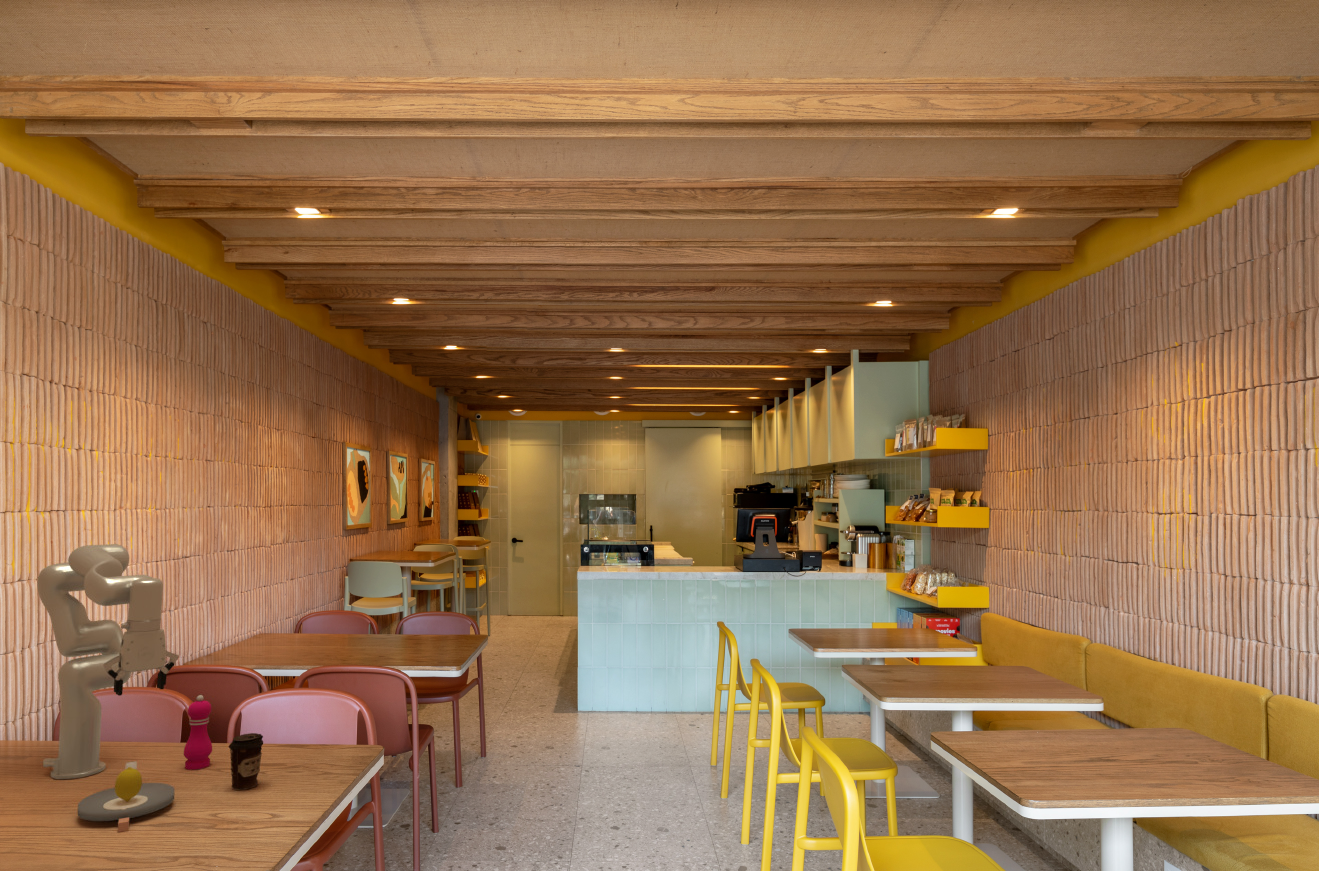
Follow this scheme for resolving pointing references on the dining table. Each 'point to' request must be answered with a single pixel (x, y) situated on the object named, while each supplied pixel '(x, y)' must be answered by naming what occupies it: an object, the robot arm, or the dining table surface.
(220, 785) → the dining table surface
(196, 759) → the pepper mill
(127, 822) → the pink rectangular block
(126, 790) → the lemon
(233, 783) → the coffee cup
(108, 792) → the turntable
